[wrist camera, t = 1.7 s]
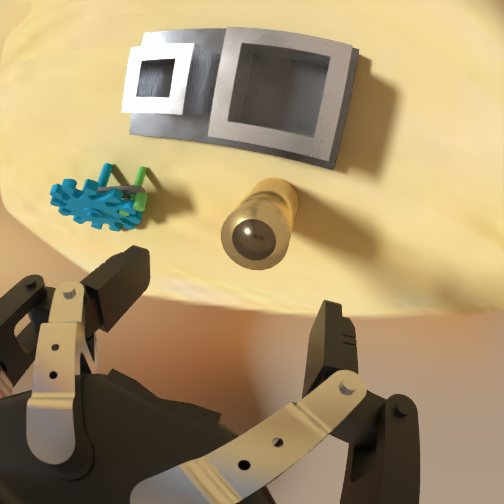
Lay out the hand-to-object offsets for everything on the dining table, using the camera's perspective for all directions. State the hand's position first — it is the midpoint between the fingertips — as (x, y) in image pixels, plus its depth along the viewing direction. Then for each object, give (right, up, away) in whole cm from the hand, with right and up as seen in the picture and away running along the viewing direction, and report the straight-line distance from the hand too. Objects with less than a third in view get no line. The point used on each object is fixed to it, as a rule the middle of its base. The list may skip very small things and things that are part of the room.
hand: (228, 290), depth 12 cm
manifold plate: (0, +15, +7) cm, 17 cm away
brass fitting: (+3, +6, +11) cm, 13 cm away
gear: (-13, +8, +15) cm, 21 cm away
